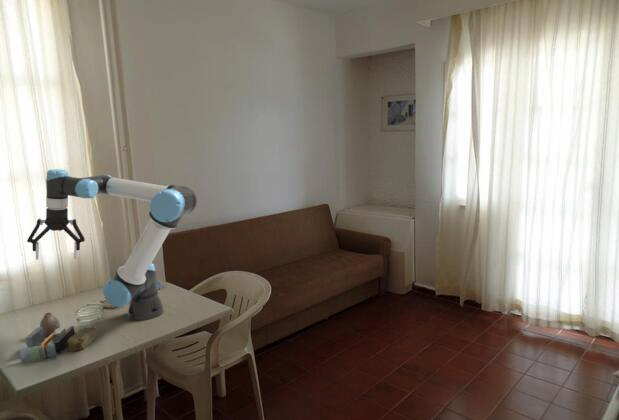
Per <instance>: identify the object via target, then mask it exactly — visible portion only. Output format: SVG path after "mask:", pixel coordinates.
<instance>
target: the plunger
mask: <svg viewBox="0 0 619 420" xmlns="http://www.w3.org/2000/svg"><path fill="white" fill-rule="evenodd" d="M75 333H76V331H75V326H74V325H72V326H70V327H69V328H67V329H66V327H60V328H58V329H56V330H55V331H54V332H53V333H52V334H51V335H50V336H47V338H45V341H44V342H43V343H42V344H41V347H43V351H44V357H45V358H46V355H45V349H44V347H45V346H46V345H49V343H50V342H51V341H52V343H51V344H52V345H53V344H55V346H56V352H57V355H61V354H62V352H63V351H64V350H65V349H66V348H67V347H68V343H67V340H68V339H69V338H70V337H72V336H73V335H74V334H75Z"/></svg>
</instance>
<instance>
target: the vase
mask: <svg viewBox="0 0 619 420" xmlns="http://www.w3.org/2000/svg"><path fill="white" fill-rule="evenodd" d="M39 327H43V330H44V336H45V337H49V336H50V335H51V334H52V333H53V332H54V331H55V330H56V329H58V328H61V324H60V321H59V318H57V316H55V315H54V314H53V313H52V312H46V313H44V315H43V317H42V319H41V320H40V323H39Z"/></svg>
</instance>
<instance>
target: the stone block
mask: <svg viewBox="0 0 619 420" xmlns="http://www.w3.org/2000/svg"><path fill="white" fill-rule="evenodd" d="M95 339H97V331H96V327H95V326H90V327H89V326H88V327H83V328H80V329H78V331H75V334H74V335H73V336H72V337H70V338H69V339H68V340H67V343H68V346H67V347H68V351H69V352H77V351H79V350H80V351H82V350H85V348H88V346H89V345H90V344H91V343H93V342H94V340H95Z"/></svg>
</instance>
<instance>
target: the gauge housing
mask: <svg viewBox="0 0 619 420" xmlns="http://www.w3.org/2000/svg"><path fill="white" fill-rule="evenodd" d="M45 337H46V336H45V335H44V330H43V327H40V326H39V327H36V328H35V329H34V330H33V331H32V332H31V333H30V334H28V335H27V336H26V337H25V342H26V347H20V348H19V350H18V351H19V356H20V362H21V363H30V362H39V361H46V360H56V359H57V358H58V354H57V352H56V346H55V344H53V343H52V344H47V345H46V346H45V347H44V349H45V355H46V358H45V357H44V351H43V347H41V344H42V343H43V342H44V341H45V340H46V338H45Z"/></svg>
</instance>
